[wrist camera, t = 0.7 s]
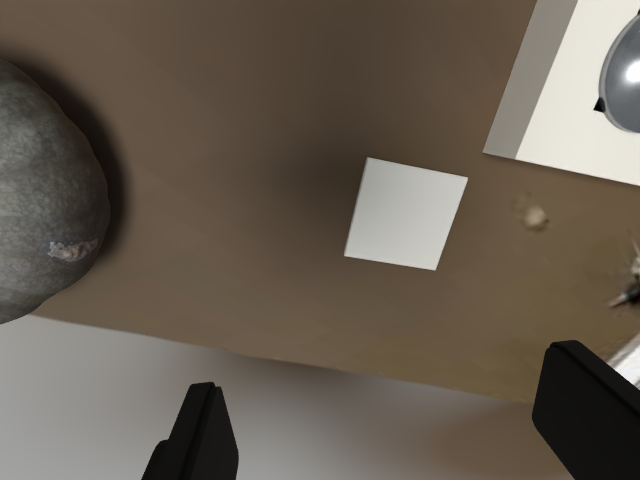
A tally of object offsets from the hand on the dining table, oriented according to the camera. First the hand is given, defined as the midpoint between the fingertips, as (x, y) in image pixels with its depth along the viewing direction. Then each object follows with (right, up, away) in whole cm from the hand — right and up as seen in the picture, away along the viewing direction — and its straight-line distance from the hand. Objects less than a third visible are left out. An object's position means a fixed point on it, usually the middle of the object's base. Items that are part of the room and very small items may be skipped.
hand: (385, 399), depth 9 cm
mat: (+8, +7, +30) cm, 32 cm away
